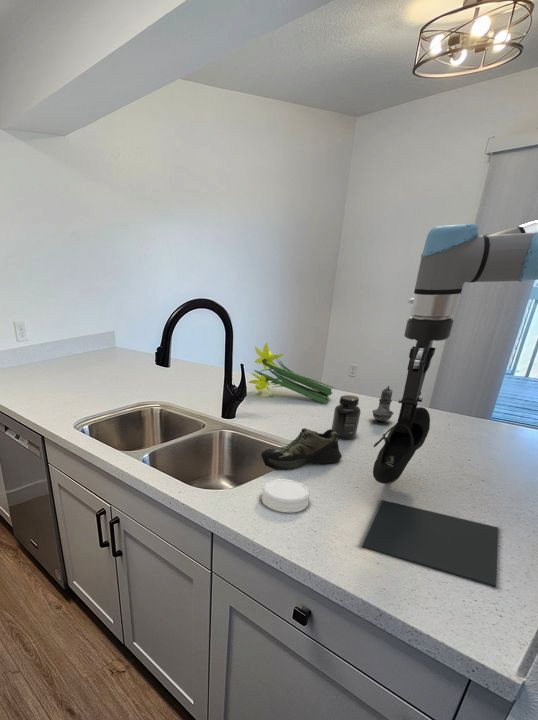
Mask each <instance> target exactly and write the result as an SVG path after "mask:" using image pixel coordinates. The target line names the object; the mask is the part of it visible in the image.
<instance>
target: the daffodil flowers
mask: <svg viewBox="0 0 538 720" xmlns="http://www.w3.org/2000/svg"><path fill="white" fill-rule="evenodd" d="M253 347H254V350H255V352H256V354H257V355H258V356H259V358H257V359H255V360H254V363H256V364H258V365H260V364H262V366H263V369H261V370H259V371H258V370H256V369H253V371H254V372H255V373H253V372H252V373H251V372H250V374H251V375H252V377H255V378H256V379H252V380H250V381H248V382H247V383H248V384H255V385H254V388H255V389H256V391H259V392H264V390H265V389H266V390H267V391H268V393H269V394H270V396H271V397H273V395H272V393H271V390H270V387H271V389H274V388H278V387H281V388H282V387H283V388H287V389H288V390H291V391H293V392H295V393H298V394H300V395H302V396H305V397H307V398H309V399H312V400H314V401H316V402H319V403H321V404H323V405H326V404H327V403H328V401H329V400H330V397H329V396H331V395H333V393H334V392H333V390H332V389H334V390H335V389H336V387H335V386H333V385H329V384H327V383H324V382H321V381H319V380H316V379H313V378H310V377H306V376H304V375H301V374H298V373H295V372H294V371H292V370H291V369H289V368H288V367H286V366H285V365H284V363H283V362H282V360H281V359H280V358H281V357H283V356H285V354H284V353H280V354H273V352H272V351H271V350H269V345H268V342H265V344H264V346H263V348H262V350H261V349H260V348H258V347H257V346H255V345H254V346H253ZM274 360H275V361H277V362H278V364H279V366H280V367H279V366H277V365H276V364H275V362H273V361H274ZM263 371H265V372H266V371H269V372H270V373H271V374H272V375H273V376H275V377H273V376H270V375H268V374H266V373H263ZM269 386H270V387H269Z"/></svg>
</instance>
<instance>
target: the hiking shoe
mask: <svg viewBox="0 0 538 720" xmlns="http://www.w3.org/2000/svg"><path fill="white" fill-rule="evenodd" d="M331 429H332V428H331ZM331 429H327V430H326V431H324V433H319V432H317V431H315V430H312V429H309V428H308V429H307V428H306V427H305V428H302V429H301V431H300V432H299V434H298V435H297V437H295V438H294V439H293V440H292V441H290V443H288V444H287V445H286V446H281V447H276V448H267V449H265V450H263V451H262V452H261V453H260V456H261V459H262V461H263V463H264V465H265V466H266V467H268V468H269V469H271V470H279V471H283V470H284V471H286V470H294V469H297V468H300V467H301V466H303V465H305V464H314V465H331V464H335V463H337V462H339V461H340V460H341V459H342V456H343V455H342V453H341V452H340V447H339V439H338V436H340V435H339V434H337V433H336V432H335V431H334V430H331Z"/></svg>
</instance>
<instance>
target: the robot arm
mask: <svg viewBox="0 0 538 720" xmlns="http://www.w3.org/2000/svg"><path fill="white" fill-rule="evenodd" d="M478 231H479V225H478V224H477V223H465V224H450V225H449V224H448V225H439V226H435V227H433V228H431V229H430V230H429V231H428V233H427V235H426V238H425V242H424V246H423V249H422V252H421V254H420V262H419V267H418V271H417V277H416V281H415V286H414V291H413V296H412V297H410V298H408V301H407V303H408V304H409V305H410V304H412V305H411V306H410V309H409V315H410V316H411V317H409V318H408V319H407V321H406V326H405V330H404V337H405V338H406V339H408V340H415V341H416V343H415V345H413V346H412V348H410V350H409V354H408V358H409V360H408V364H407V375H406V379H405V385H404V389H403V394H402V398H399V399H398V404H401V406H400V409H399V414H398V418H397V422H396V423H397V425H399V424H402V425H405V426H407V427H408V428H409V429H410V431H411V428H412V424H413V420H414V416H415V412H416V408H417V407H418V405H419V403H422V402H423V399H424V398H423V397H420V396H421V395H422V388H423V386H424V381H425V379H426V374H427V372H428V371H429V368H430V366H431V362H432V358H433V357H434V355H435V352H436V347H435V346H434V347H433V342H434V341H436V342H439V341H445V340H448V339H449V338H450V336H451V332H452V328H453V325H454V318H452V317H454V316H455V315H456V314H457V311H458V308H459V304H460V299H461V296H462V292H463V287H464V284H465V283H495V282H499V283H500V282H518V283H522V282H525V281H526V282H527V281H537V280H538V219H537V220H534V221H529V222H526V223H524V224H520V225H518V226H516V227H515V226H514V227H511V228H508V229H505V230H504V229H503V230H501V231H498V232H495V233H491V234H489V233H486V234H483V235H479V232H478ZM402 425H399V426H396V431H395V432H401V433H408V434H409V432H408V430H407V429H406V428H405V427H404V426H402Z"/></svg>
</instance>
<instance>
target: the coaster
mask: <svg viewBox="0 0 538 720" xmlns="http://www.w3.org/2000/svg"><path fill="white" fill-rule="evenodd" d="M310 494H311V493H310V490H309V488H308V487H307V486H306V485H305V484H303V483H302V482H299V481H296V480H293V479H288V478H287V479H286V478H285V479H283V478H280V479H279V478H277V479H272V480H270V481H267V482H266V483H265V484H263V487H262V492H261V501H262V503H263V505H265V507H267V508H269V509H271V510H273V511H276V512H280V513H286V514H287V513H290V514H291V513H299V512H301V511H304V510H305V509H306V508H307V507H308V505H309V500H310Z"/></svg>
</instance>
